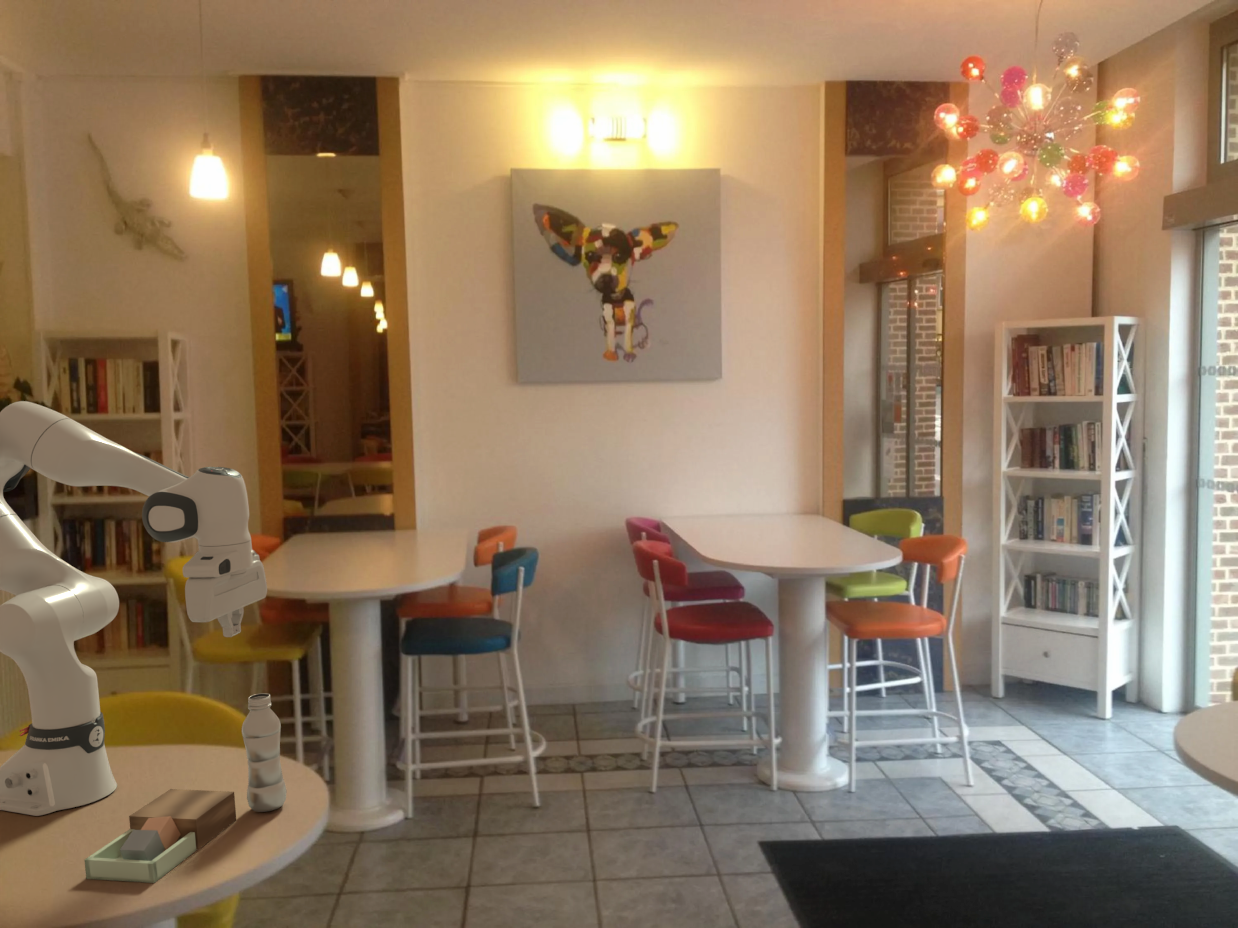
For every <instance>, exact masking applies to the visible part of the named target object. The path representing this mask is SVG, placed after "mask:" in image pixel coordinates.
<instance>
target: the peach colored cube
mask: <svg viewBox="0 0 1238 928" xmlns="http://www.w3.org/2000/svg"><path fill="white" fill-rule="evenodd" d="M141 830H157V831H158V834H159V836H160V839H161V841H162V844H163V846H164V851H165V850H167V849H168V848H169V847H171V846H172V845H173V844H175V843H176V841H177V840H178V838H179V837H180V835H181V834H180V832H179V830H178V829H177V827H176V825H175V823H174V821H173V819H172V818H171V816H167V817H155V818H148V820H147V821H146V823H145V824H144V826H143V827H142V829H141ZM164 851H163V852H164Z"/></svg>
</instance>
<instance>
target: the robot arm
mask: <svg viewBox="0 0 1238 928" xmlns="http://www.w3.org/2000/svg"><path fill="white" fill-rule="evenodd" d="M30 469H31V470H33V471H35V472H37V473H39V474H40V475H41V476H43V477H46V478H47V479H49V480H51V481H52V480H53V481H55V482H57V483H60V484H63V485H67V486H71V487H96V486H98V487H99V486H102V487H103V486H109V487H110V486H111V487H122V488H126V489H131V490H134V491H136V492H139V493H141V494H143V495H145V496H147V499H146V500H145V501H144V504H143V506H142V510H141V511H142V512H141V519H142V524H143V526H144V528H145V530H146V532H147V533H148V535H150V536H151V537H152V538H153V539H155V540H156V541H158V542H160V543H161V542H162V543H178V542H181V541H186V540H190V539H193V538H194V539H196V540H197V544H198V545H197V546H198V551H196V553H194V555H193V556H192V557H191V558H190V559H189V560H188V561H187V562H186V563H184V565H183V566H182V575H183V578H187V580H186V581H185V586H184V596H185V597H184V598H185V606H186V613H187V614H186V615H187V617H188V619H189V620H190V621H191V622H192V623H209V622H211V621H214V620H217V621H218V623H219V624H220V627H221V628H222V635H223V637H225V638H232V637H234V636H236V635H238V634H240V633H241V632H242V628H241V627H242V625H241V623H242V621H243V617H244V613H245V610H244V608H245V607H246V606H249V605H252V604H254V603H257V602H259V601H261V600H263V599H265V598H266V597H267V593H268V585H267V584H268V583H267V577H266V571H265V568H264V567H265V566H264V564H263V562H262V561H261V560H260V559H261V558H260V555H259V554H258V553H257V552H256V550H254V549H253V545H252V537H251V536H252V535H251V533H250V530H249V520H250V507H249V498H248V497H249V496H248V491H247V486H246V482H245V479H244V477H243V475H242V474H241V473H240V472H239V471H237V470H236V469H233V468H230V467H224V466H205V467H202V468H198V469H197V470H196V471H195V472H194V473H193V474H192V475H191V476H188V475H186V474H183V473H181V472H179V471H176V470H174V469H172V468H170V467H168V466H166V465H163V464H162V463H159V462H157V461H156V460H153V459H151V458H150V457H148V456H145V455H143V454H140V453H138V452H136V451H133V450H131V449H128V448H127V447H125V446H123V445H121V444H120V443H119V444H118V443H117V442H115V441H113V440H111V439H109V438H106V437H105V436H103V435H101V434H100V433H97V432H95V431H94V430H92V429H91V428H88V427H87V426H86V425H83V424H82V423H80V422H78V421H76V420H74V419H73V418H70V417H68V416H67V415H65V414H63V413H60V412H58V411H56V410H54V409H51V408H50V407H46V406H43V405H41V404H37V403H35V402H31V401H27V400H25V401H24V400H20V401H15V402H13V403H9V405H6V406H5V407H3V408H2V410H1V411H0V591H4V592H7V593H10V594H12V595H14V596H13V597H12V598H10V599H8V600H6V601H5V602H4V603H2V604H0V653H1V654H3V655H4V656H6V657H9V658H10V659H11V660H13V661H14V662H15V663H16V665H17V667H18V668H19V670H20V672H21V673H22V676H23V678H24V680H25V683H26V687H27V690H28V700H29V707H30V713H31V723H30V724H29V725H28V726H26V727H24V728H22V729H19V733H20V734H19V736H20V737H22V736H25V735H27V736H26V739H25V742H24V744H23V745H22V747H21V748H19V750H17V751H16V752H15V753H14V754H13V755H12V756H10V757H9V758H8V759H7V760H6V761H5V762H3V764H1V765H0V811H6V812H12V813H18V814H23V815H28V816H29V815H30V816H36V817H38V816H43V815H47V814H51V813H53V812H56V811H61V810H67V809H72V808H75V807H76V808H77V807H80V806H85V805H88V804H90V803H94V802H96V801H99V800H101V799H103V798H105V797H107V796H109V795H111V794H112V793H113V792H114V791H115V790H116V789H117V787H118V783H117V782H116V780H115V777H114V774H113V772H112V768H111V765H110V762H109V758H108V754H107V753H108V752H107V749H106V746H105V735H106V734H105V732H106V727H105V719H104V713H103V712H101V706H100V705H101V704H100V694H99V683H98V676H97V673H96V671H95V670H94V669H93V668H91V667H90V666H88V665H86V664H83V663H81V661H80V660H79V657H78V656H77V652H76V649H75V645H74V644H75V641H78V640H81V639H83V638H86V637H88V636H91V635H94V634H96V633H97V632H99V631H100V630H102V629H104V628H105V627H106V626H108V625H109V624H110V623H111V622H112V621H113V620H114V619H115V618H116V616H117V615H118V613H119V609H120V598H119V595H118V592H117V590H116V588H115V587H114V586H113V584H112V583H110V581H108V580H107V579H104V578H102V577H98V576H94V575H91V574H88V573H85V572H84V571H81V570H79V569H78V568H76V567H74V566H72V565H71V564H70V563H68V562H66V561H65V560H63V559H62V558H61V557H59V556H58V555H57V554H55V553H54V552H52V551H51V550H50V549H48V548H47V546H45V545H44V544H43V543H42V542H41V541H40V540H39V539H38V538H37V536H36V535H35V534H34V533H33V532H32V531H31V529H30V528H29V527H28V526H27V525H26V524H25V523H24V522H23V520H22V519H21V518H20V517H19V516H18V514H17V513H16V512H15V511H14V509H13V508H12V507H11V506H10V505H9V504H8V503H7V501H6V499H5V498H4V493H6V492H11V491H12V490H14V489H15V488H16V487H17V486H18V484H19V482H20V481H21V479H22V478H23V477H24V476H26V475H27V473H28V472H29V471H30ZM21 732H22V733H21Z"/></svg>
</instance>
